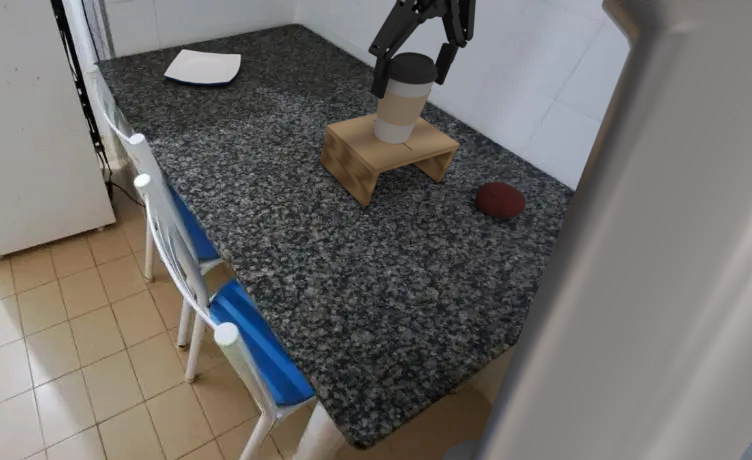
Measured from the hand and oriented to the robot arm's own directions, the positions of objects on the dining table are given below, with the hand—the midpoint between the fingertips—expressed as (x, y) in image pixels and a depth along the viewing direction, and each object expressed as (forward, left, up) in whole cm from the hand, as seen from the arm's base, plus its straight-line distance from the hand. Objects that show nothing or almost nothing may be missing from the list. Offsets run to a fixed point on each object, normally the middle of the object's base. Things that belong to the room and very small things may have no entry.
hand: (407, 88), depth 70 cm
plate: (+59, +18, -19) cm, 65 cm away
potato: (-19, -12, -19) cm, 29 cm away
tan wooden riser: (0, 0, -19) cm, 19 cm away
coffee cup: (0, 0, -10) cm, 10 cm away
